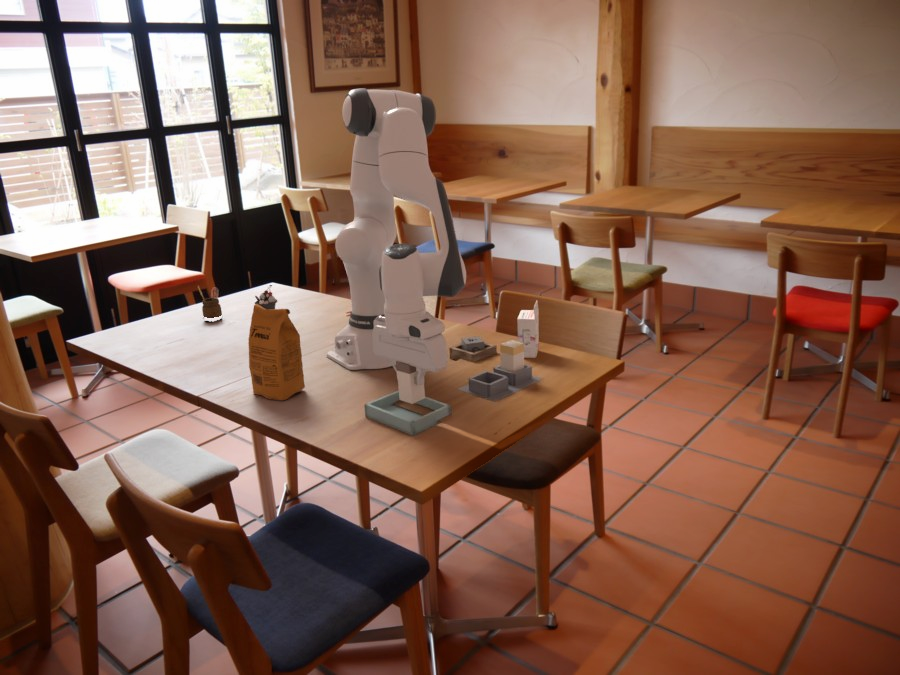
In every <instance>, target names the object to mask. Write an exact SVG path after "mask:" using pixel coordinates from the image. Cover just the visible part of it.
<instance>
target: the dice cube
mask: <svg viewBox="0 0 900 675" xmlns="http://www.w3.org/2000/svg"><path fill="white" fill-rule="evenodd" d="M461 343H462V350H465V351H469V352H473V353H475V352H477V351H480V350H482V349H485V346H484V343H485V340H483V339H482V337H480V336H470V337H469V336H468V337H462V338H461ZM461 343H460V344H461Z"/></svg>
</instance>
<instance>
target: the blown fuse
mask: <svg viewBox="0 0 900 675" xmlns="http://www.w3.org/2000/svg"><path fill="white" fill-rule="evenodd" d="M396 369H397V373H396V378H397V377H398V379H397V384H398V385H397V386H398V390H399V399H400V400H399V401H402V402H404V403H407V404H411V405H413V404H416V402H418V401H420V400H422V399H424V398H425V397H426V393H425V392H426V389H425V383H424V384H423V385H421V386H419V385H416V384H414V377H416V376H417V374H418V371H416V367H414V366H411V365H409V364H405V363H401V362H398V361H396Z"/></svg>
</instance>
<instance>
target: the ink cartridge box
mask: <svg viewBox="0 0 900 675" xmlns="http://www.w3.org/2000/svg"><path fill="white" fill-rule="evenodd" d="M538 303H539V301H538V299H536V301H535V303H534V306H533V309H521V310H520V312H519V315H518V316H517V322H516V323H517V342H521V343H524V359H526V358H528V359H529V358H530V359H535V358H537V355H538V353H539V344H540V342H539V340H540V339H539V338H540V337H539V336H540V334H539V325H540V324H539V317H540V316H539V311H540V310H539V304H538Z"/></svg>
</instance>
